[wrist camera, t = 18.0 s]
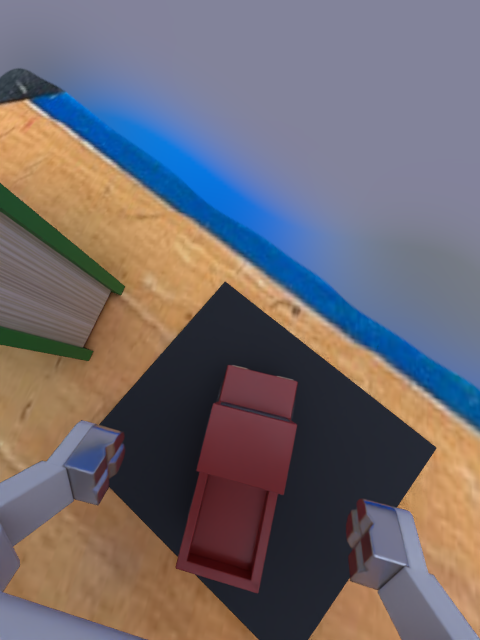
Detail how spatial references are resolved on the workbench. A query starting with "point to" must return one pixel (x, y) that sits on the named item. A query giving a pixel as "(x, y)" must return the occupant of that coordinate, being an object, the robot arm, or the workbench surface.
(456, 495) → the workbench surface
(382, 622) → the workbench surface
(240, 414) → the toy pickup truck
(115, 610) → the workbench surface
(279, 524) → the mat
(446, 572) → the workbench surface
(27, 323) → the hardback book
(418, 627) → the robot arm
